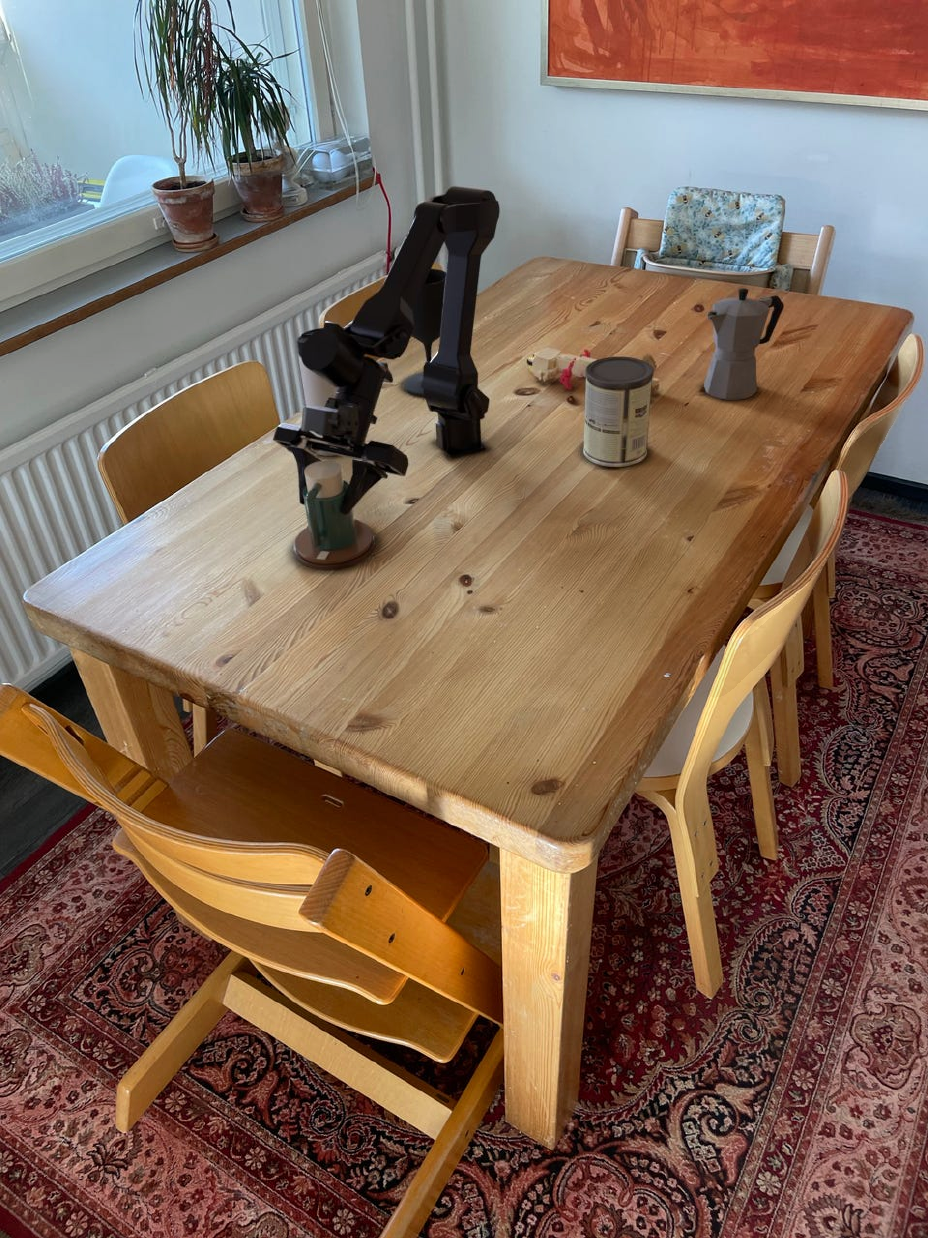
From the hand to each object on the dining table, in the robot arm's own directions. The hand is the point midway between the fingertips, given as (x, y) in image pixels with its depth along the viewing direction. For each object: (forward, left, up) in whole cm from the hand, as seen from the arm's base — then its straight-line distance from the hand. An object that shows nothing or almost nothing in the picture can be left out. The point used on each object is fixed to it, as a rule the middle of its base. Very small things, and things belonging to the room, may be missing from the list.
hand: (322, 508), depth 128 cm
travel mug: (-10, -30, -7) cm, 32 cm away
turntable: (-1, -1, -7) cm, 7 cm away
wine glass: (-34, -45, -7) cm, 57 cm away
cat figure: (-59, -30, -7) cm, 67 cm away
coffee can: (-50, -6, -7) cm, 51 cm away
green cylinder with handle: (-1, -1, -7) cm, 7 cm away
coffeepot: (-81, -16, -7) cm, 83 cm away
